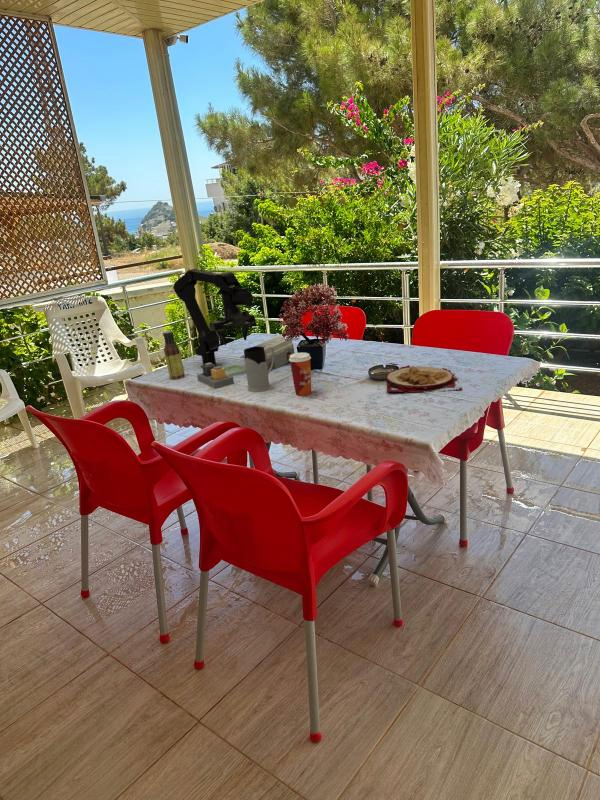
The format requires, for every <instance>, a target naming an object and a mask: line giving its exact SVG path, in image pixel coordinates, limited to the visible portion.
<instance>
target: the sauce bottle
mask: <svg viewBox="0 0 600 800" xmlns="http://www.w3.org/2000/svg"><path fill="white" fill-rule="evenodd" d="M162 336H163V338H164V343H165V344H164V347H163V351H164V357H165V361H166V367H167V370H168V375H169V379H170V380H175V381H176V380H181V379H183V378H185V369H184V365H183V360H182V355H181V350H180V349H179V347H178V345H177V343H176V341H175V337H174V331H172V330H166V331H163V332H162Z"/></svg>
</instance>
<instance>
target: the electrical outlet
mask: <svg viewBox="0 0 600 800" xmlns="http://www.w3.org/2000/svg"><path fill="white" fill-rule="evenodd" d="M284 337H285V336H275V337H272V338H271V339H268V340H266V341H264V342H262V343H259V344H257V345H254V346H253V347H264V351H265V350H266V349H267V348H268V347H271V348H273V350H274V363H273V367H272V369H271V370H274V369H278V368H280V367H282V366H284V365H285V364H287V363H290V361H289V358H290V355H292V354H295V353H296V352H295V345H294V342H293V341H298V340H300V337H294V338H293V339H291V340H289V341H285V340H284ZM271 348H269V349H268V350H267V359H266V363H267V371H269V369H270V367H271V364H272V360H273V352H272V349H271ZM239 358H240V359H245V356H244V355H241V356H240V357H239Z"/></svg>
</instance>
